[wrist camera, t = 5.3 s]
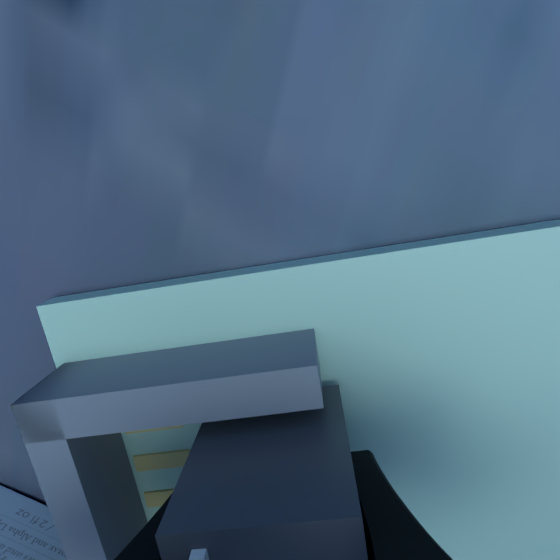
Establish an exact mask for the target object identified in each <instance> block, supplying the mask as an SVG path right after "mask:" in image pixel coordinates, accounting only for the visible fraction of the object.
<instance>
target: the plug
mask: <svg viewBox="0 0 560 560" xmlns="http://www.w3.org/2000/svg"><path fill="white" fill-rule="evenodd" d="M322 395H323V405H324V408H321V409H313V410H304V411H296V412H288V413H279V414H271V415H263V416H254V417H246V418H238V419H229V420H221V421H213V422H204V423H202V424H201V426H200V429H199V431H198V433H197V436H196V438H195V441H194V443H193V445H192V448H191V450H190V453H189V455H188V457H187V460H186V462H185V465H184V467H183V469H182V472H181V474H180V477H179V479H178V481H177V484H176V486H175V489H174V491H173V493H172V496H171V498H170V501H169V503H168V505H167V508H166V510H165V513H164V515H163V517H162V520H161V522H160V525H159V527H158V529H157V532H156V534H155V538H156V542H157V545H158V549H159V552H160V556H161V559H162V560H368V555H367V548H366V541H365V534H364V527H363V520H362V514H361V508H360V502H359V497H358V491H357V485H356V480H355V474H354V468H353V463H352V457H351V451H350V446H349V440H348V434H347V429H346V423H345V417H344V412H343V406H342V400H341V395H340V389H339V385H332V386H324V387H322Z"/></svg>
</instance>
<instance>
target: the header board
mask: <svg viewBox="0 0 560 560" xmlns="http://www.w3.org/2000/svg"><path fill="white" fill-rule="evenodd" d="M36 307H37V310H38V314H39V317H40V320H41V323H42V326H43V329H44V332H45V335H46V338H47V341H48V344H49V347H50V350H51V353H52V356H53V359H54V362H55V365H56V368H57V369H56V370H54V371H53V372H52V373H51V374H49V375H48V376H47V377H45V378H44V379H43V380H42V381H40V382H39V383H38V384H37V385H35V386H34V387H33V388H32V389H30V390H29V391H28V392H26V393H25V394H24V395H23V396H21V397H20V398H19V399H18V400H16V401H15V402H14V403H13V404H11V405H10V406H11V408H12V411H13V414H14V416H15V419H16V422H17V425H18V427H19V430H20V433H21V436H22V438H23V441H24V444H25V446H26V449H27V452H28V455H29V457H30V460H31V463H32V465H33V468H34V471H35V474H36V476H37V479H38V482H39V484H40V487H41V490H42V493H43V495H44V498H45V501H46V503H47V506H48V509H49V512H50V514H51V517H52V520H53V523H54V525H55V528H56V531H57V533H58V536H59V539H60V542H61V544H62V547H63V550H64V552H65V555H66V558H67V560H114V559H115V558H116V557H117V556H118V555H119V554H120V553H121V552H122V550H123V549H124V548H125V547H126V546H127V545H128V544H129V543H130V542H131V541H132V539H133V538H134V537H135V536H136V535H137V534H138V533H139V532H140V531H141V530H142V528H143V527H144V526H145V525H146V524H147V523H148V522H149V520H150V519H151V518H152V517H153V516H154V514H155V513H156V512H157V511H158V510H159V508H160V507H161V506H162V505H163V504H164V502H165V501H166V500H167V499H168V497H169V496H170V495H171V494H172V493H173V491H174V489H175V486H176V484H177V481H178V479H179V477H180V474H181V472H182V469H183V467H184V465H185V462H186V460H187V457H188V455H189V453H190V450H191V448H192V445H193V443H194V441H195V438H196V436H197V433H198V431H199V429H200V426H201V424H202V423H204V422H213V421H221V420H229V419H238V418H246V417H254V416H263V415H271V414H279V413H288V412H296V411H304V410H313V409H321V408H324V405H323V395H322V387H324V386H332V385H339V389H340V395H341V400H342V406H343V412H344V417H345V423H346V429H347V434H348V440H349V446H350V451H351V452H352V451H361V450H369V451H371V452H372V453H373V455H374V457H375V459H376V461H377V463H378V465H379V467H380V468H381V470H382V472H383V473H384V475H385V476H386V478H387V480H388V481H389V483H390V484H391V486H392V487H393V489H394V490H395V491H396V493H397V494H398V496H399V497H400V498H401V500H402V501H403V502H404V504H405V505H406V506H407V508H408V509H409V510H410V512H411V513H412V514H413V515H414V517H415V518H416V519H417V520H418V521H419V523H420V524H421V525H422V526H423V527H424V529H425V530H426V531H427V532H428V533H429V535H430V536H431V537H432V538H433V539H434V540H435V541H436V542H437V543H438V545H439V546H440V547H441V548H442V549H443V550H444V551H445V552H446V553H447V554H448V555H449V556H450V557H451V558H452V559H453V560H560V219H558V220H551V221H545V222H538V223H532V224H525V225H519V226H512V227H506V228H499V229H493V230H486V231H480V232H473V233H467V234H461V235H454V236H448V237H441V238H435V239H428V240H422V241H415V242H409V243H402V244H396V245H389V246H383V247H376V248H370V249H364V250H357V251H351V252H344V253H338V254H331V255H325V256H318V257H312V258H305V259H299V260H292V261H286V262H279V263H273V264H267V265H260V266H254V267H247V268H241V269H234V270H228V271H221V272H215V273H208V274H202V275H195V276H189V277H182V278H176V279H170V280H163V281H157V282H150V283H144V284H137V285H131V286H124V287H118V288H111V289H105V290H98V291H92V292H85V293H79V294H73V295H66V296H60V297H54V298H52V299H50V300H48V301H46V302H44V303H42V304H40V305H38V306H36Z"/></svg>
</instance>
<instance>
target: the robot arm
mask: <svg viewBox="0 0 560 560" xmlns="http://www.w3.org/2000/svg"><path fill="white" fill-rule="evenodd" d="M351 457H352V463H353V468H354V474H355V480H356V485H357V491H358V497H359V502H360V508H361V514H362V520H363V527H364V534H365V541H366V548H367V555H368V560H453V559H452V558H451V557H450V556H449V555H448V554H447V553H446V552H445V551H444V550H443V549H442V548H441V547H440V546H439V545H438V543H437V542H436V541H435V540H434V539H433V538H432V537H431V536H430V535H429V533H428V532H427V531H426V530H425V529H424V527H423V526H422V525H421V524H420V523H419V521H418V520H417V519H416V518H415V517H414V515H413V514H412V513H411V512H410V510H409V509H408V508H407V506H406V505H405V504H404V502H403V501H402V500H401V498H400V497H399V496H398V494H397V493H396V491H395V490H394V489H393V487H392V486H391V484H390V483H389V481H388V480H387V478H386V476H385V475H384V473H383V472H382V470H381V468H380V467H379V465H378V463H377V461H376V459H375V457H374V455H373V453H372V452H371V451H369V450H361V451H352V452H351ZM171 496H172V494H171V495H170V496H169V497H168V499H167V500H166V501H165V502H164V504H163V505H162V506H161V507H160V508H159V510H158V511H157V512H156V513H155V514H154V516H153V517H152V518H151V519H150V520H149V522H148V523H147V524H146V525H145V526H144V527H143V528H142V530H141V531H140V532H139V533H138V534H137V535H136V536H135V537H134V538H133V539H132V541H131V542H130V543H129V544H128V545H127V546H126V547H125V548H124V549H123V550H122V552H121V553H120V554H119V555H118V556H117V557H116V558H115V559H114V560H162V559H161V556H160V552H159V549H158V545H157V542H156V538H155V534H156V532H157V529H158V527H159V525H160V522H161V520H162V517H163V515H164V513H165V510H166V508H167V505H168V503H169V501H170V498H171Z"/></svg>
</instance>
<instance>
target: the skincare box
mask: <svg viewBox="0 0 560 560" xmlns="http://www.w3.org/2000/svg"><path fill="white" fill-rule="evenodd" d="M0 560H67V558H66V555H65V552H64V550H63V547H62V544H61V542H60V539H59V536H58V533H57V531H56V528H55V525H54V523H53V520H52V517H51V514H50V512H49V509H48V506H46V505H43V504H41V503H39V502H37V501H35V500H32V499H30V498H28V497H26V496H23V495H21V494H19V493H16V492H14V491H12V490H10V489H8V488H6V487H3V486H1V485H0Z"/></svg>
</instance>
